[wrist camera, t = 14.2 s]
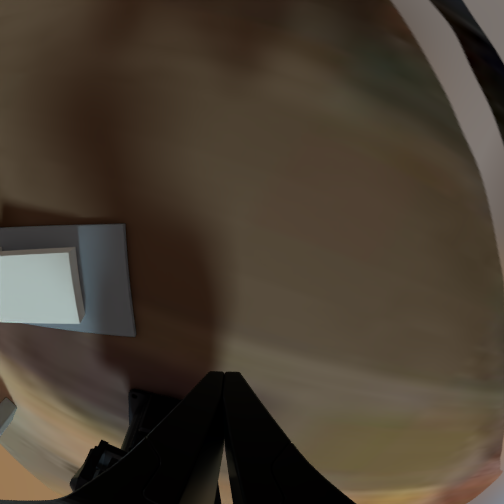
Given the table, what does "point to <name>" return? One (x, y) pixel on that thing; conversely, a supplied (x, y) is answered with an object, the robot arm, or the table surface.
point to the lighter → (6, 414)
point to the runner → (88, 271)
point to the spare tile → (40, 286)
